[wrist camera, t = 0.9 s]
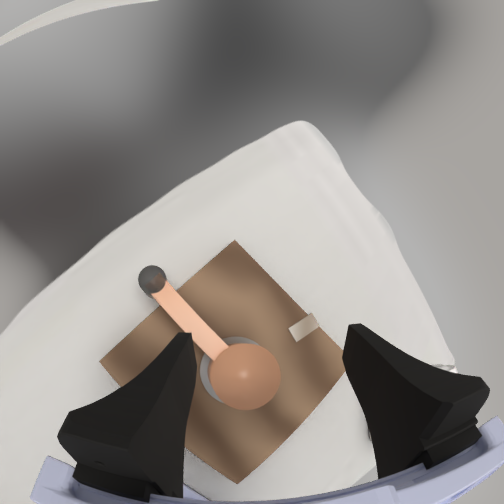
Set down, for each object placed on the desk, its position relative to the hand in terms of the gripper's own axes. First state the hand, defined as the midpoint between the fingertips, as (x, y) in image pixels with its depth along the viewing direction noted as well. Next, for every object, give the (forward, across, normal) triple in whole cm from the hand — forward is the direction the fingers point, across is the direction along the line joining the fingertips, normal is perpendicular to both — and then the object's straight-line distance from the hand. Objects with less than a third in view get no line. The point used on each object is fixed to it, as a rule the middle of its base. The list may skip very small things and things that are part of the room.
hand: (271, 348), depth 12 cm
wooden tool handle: (+9, +5, +6) cm, 12 cm away
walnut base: (+10, +2, +11) cm, 15 cm away
